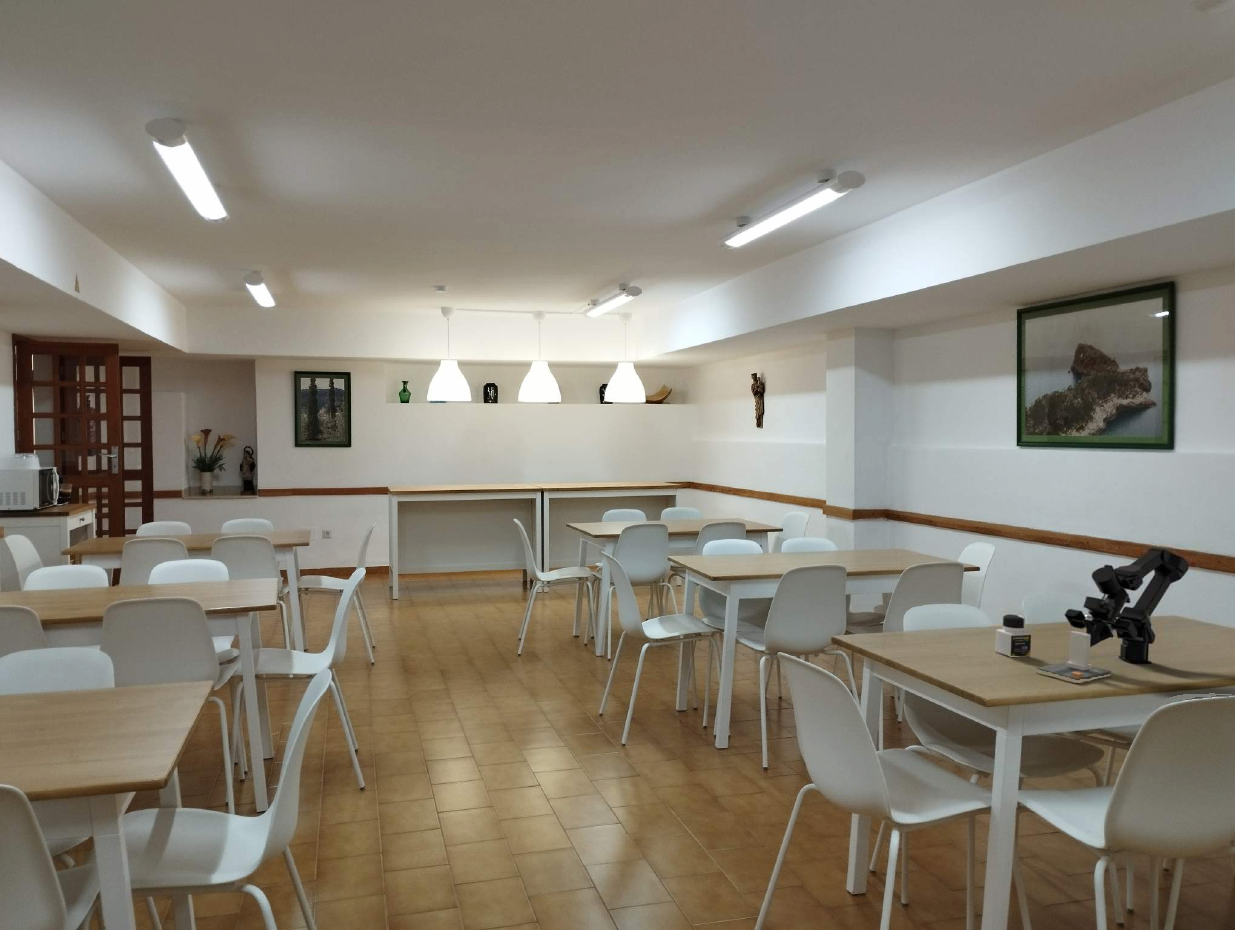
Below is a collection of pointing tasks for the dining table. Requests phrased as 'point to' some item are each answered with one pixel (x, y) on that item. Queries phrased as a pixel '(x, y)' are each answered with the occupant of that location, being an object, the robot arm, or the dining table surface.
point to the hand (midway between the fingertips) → (1087, 646)
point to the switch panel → (1074, 671)
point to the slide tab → (1079, 651)
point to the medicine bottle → (1013, 637)
